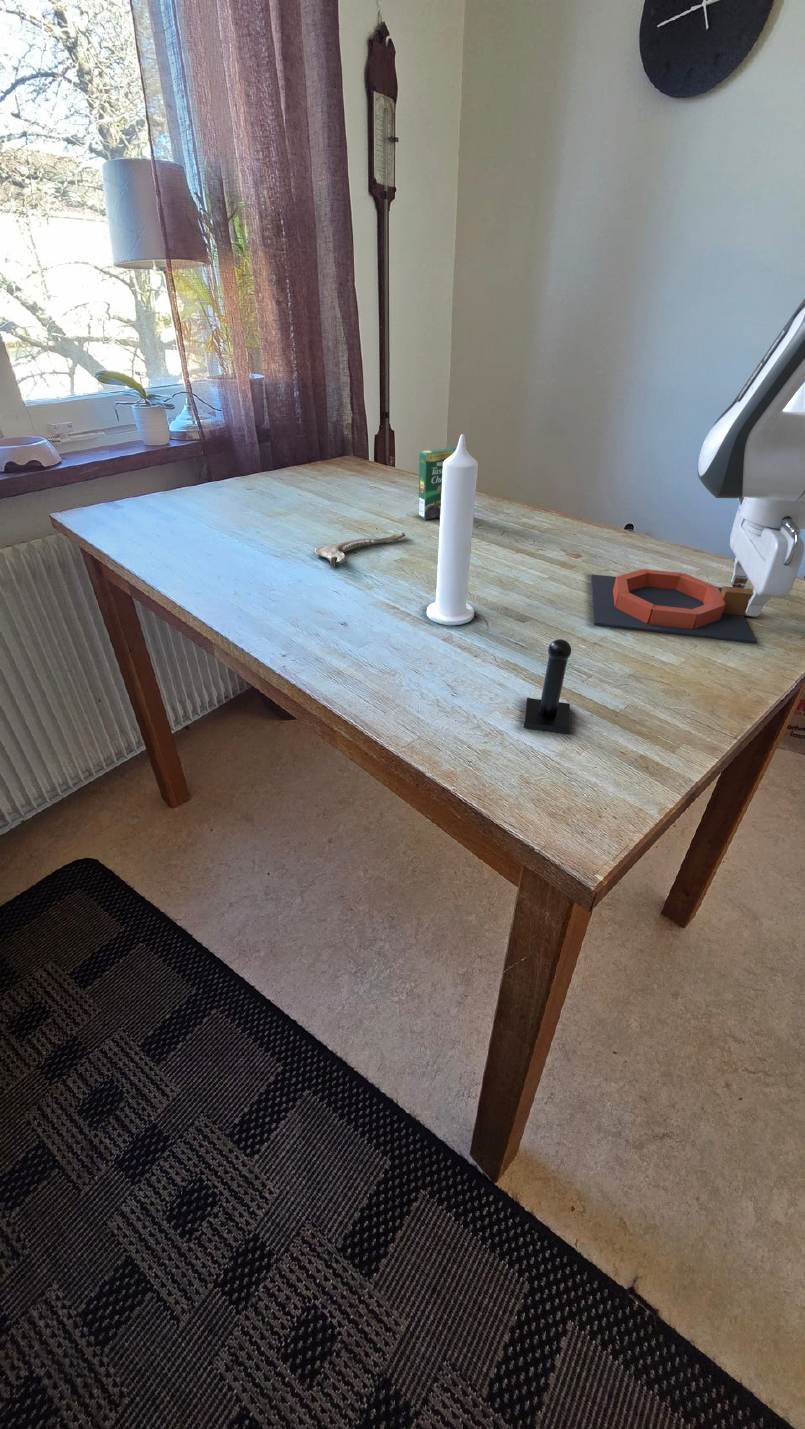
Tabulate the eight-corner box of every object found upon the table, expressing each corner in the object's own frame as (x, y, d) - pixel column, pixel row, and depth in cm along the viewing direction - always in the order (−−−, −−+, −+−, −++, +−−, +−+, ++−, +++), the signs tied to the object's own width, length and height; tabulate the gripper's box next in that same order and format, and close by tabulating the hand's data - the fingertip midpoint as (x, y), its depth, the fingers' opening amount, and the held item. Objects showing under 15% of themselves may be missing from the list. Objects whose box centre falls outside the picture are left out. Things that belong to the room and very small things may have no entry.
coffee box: (423, 521, 124) (425, 453, 116) (416, 516, 126) (418, 450, 118) (456, 515, 127) (461, 449, 119) (449, 511, 129) (453, 446, 121)
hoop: (743, 593, 97) (751, 572, 95) (767, 637, 85) (776, 615, 83) (611, 579, 100) (616, 559, 98) (616, 620, 88) (621, 598, 86)
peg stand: (568, 708, 71) (585, 632, 65) (568, 734, 67) (586, 655, 61) (526, 702, 72) (538, 627, 66) (523, 727, 68) (536, 649, 62)
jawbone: (301, 564, 106) (299, 552, 105) (369, 532, 120) (368, 522, 119) (341, 571, 102) (340, 560, 100) (407, 538, 116) (407, 527, 114)
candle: (450, 599, 94) (462, 426, 79) (483, 616, 90) (502, 435, 75) (416, 612, 90) (422, 433, 76) (449, 630, 86) (462, 443, 71)
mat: (728, 590, 99) (729, 588, 98) (755, 643, 84) (756, 641, 84) (591, 576, 102) (591, 574, 102) (593, 625, 88) (594, 622, 88)
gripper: (830, 535, 73) (785, 635, 81) (783, 488, 89) (750, 575, 97) (774, 530, 74) (735, 629, 82) (738, 484, 90) (709, 571, 99)
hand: (743, 600), depth 90 cm, fingers open, 8 cm apart
